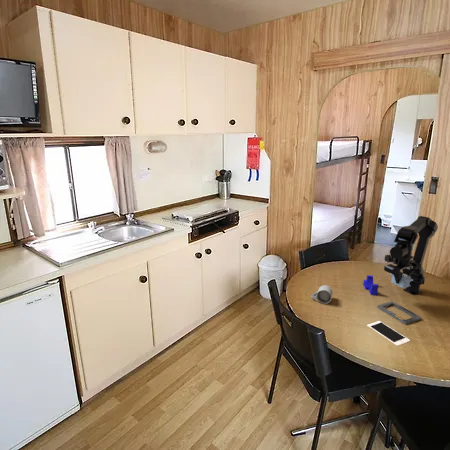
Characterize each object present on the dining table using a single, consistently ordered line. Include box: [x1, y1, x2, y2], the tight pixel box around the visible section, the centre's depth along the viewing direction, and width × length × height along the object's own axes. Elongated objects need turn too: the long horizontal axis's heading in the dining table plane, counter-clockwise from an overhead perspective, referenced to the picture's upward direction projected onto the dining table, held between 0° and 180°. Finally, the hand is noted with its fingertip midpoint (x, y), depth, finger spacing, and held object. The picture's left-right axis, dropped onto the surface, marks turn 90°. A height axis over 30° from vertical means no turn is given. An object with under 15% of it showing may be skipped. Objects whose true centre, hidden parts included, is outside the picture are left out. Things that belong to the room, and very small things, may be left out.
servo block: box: [389, 272, 413, 289], centre depth 158 cm, size 4×10×6 cm, turn 22°
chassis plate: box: [376, 300, 422, 326], centre depth 154 cm, size 10×16×1 cm, turn 23°
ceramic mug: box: [310, 284, 333, 305], centre depth 167 cm, size 11×8×8 cm
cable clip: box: [362, 274, 379, 296], centre depth 176 cm, size 12×4×6 cm, turn 169°
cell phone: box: [366, 320, 411, 346], centre depth 140 cm, size 8×16×1 cm, turn 23°
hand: (400, 282), depth 159 cm, fingers closed on servo block, 4 cm apart
